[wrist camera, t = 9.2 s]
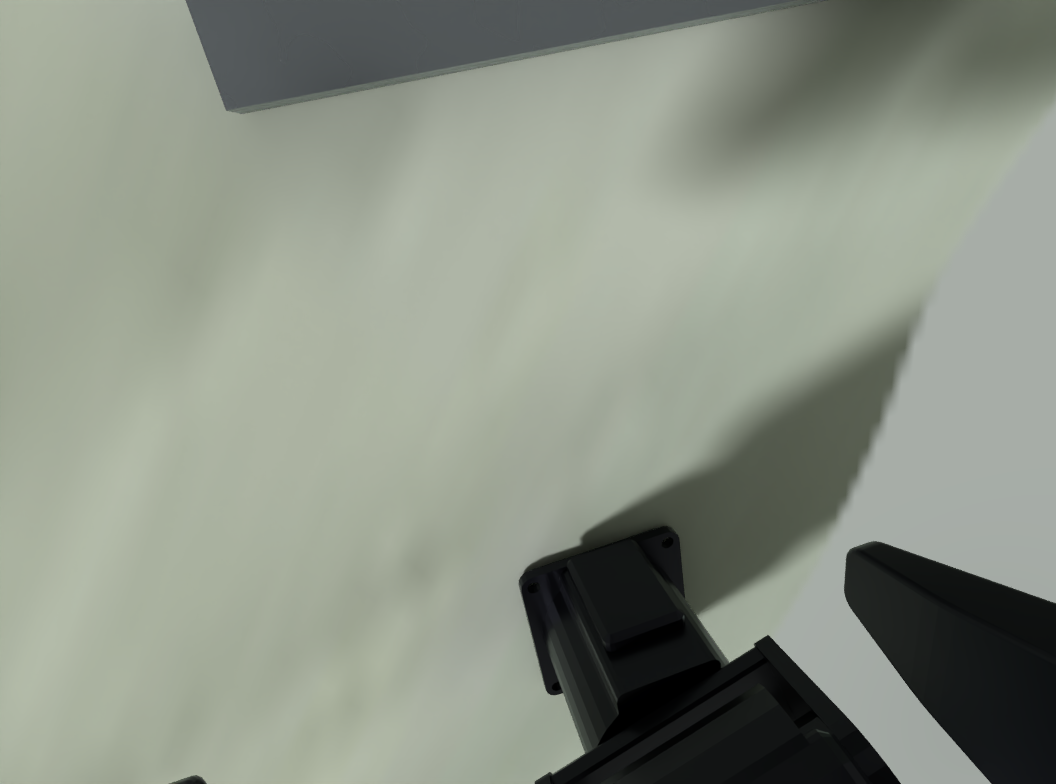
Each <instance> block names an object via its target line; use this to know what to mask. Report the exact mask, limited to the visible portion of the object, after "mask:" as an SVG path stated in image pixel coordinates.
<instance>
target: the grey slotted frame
mask: <svg viewBox="0 0 1056 784" xmlns="http://www.w3.org/2000/svg"><path fill="white" fill-rule="evenodd" d="M821 1H826V0H186V3H187V5H188V8H189V11H190V14H191V16H192V19H193V22H194V24H195V27H196V30H197V33H198V35H199V38H200V41H201V43H202V46H203V49H204V52H205V54H206V57H207V60H208V62H209V65H210V68H211V71H212V73H213V76H214V79H215V81H216V84H217V87H218V90H219V92H220V95H221V98H222V100H223V103H224V106H225V109H226V111H231V112H236V113H240V114H245V113H250V112H255V111H260V110H265V109H270V108H275V107H281V106H286V105H291V104H296V103H301V102H306V101H311V100H317V99H322V98H327V97H332V96H337V95H342V94H347V93H353V92H358V91H363V90H368V89H373V88H378V87H383V86H389V85H394V84H399V83H404V82H409V81H414V80H419V79H425V78H430V77H435V76H440V75H445V74H450V73H455V72H461V71H466V70H471V69H476V68H481V67H486V66H491V65H497V64H502V63H507V62H512V61H517V60H522V59H527V58H533V57H538V56H543V55H548V54H553V53H558V52H563V51H569V50H574V49H579V48H584V47H589V46H594V45H599V44H605V43H610V42H615V41H620V40H625V39H630V38H635V37H641V36H646V35H651V34H656V33H661V32H666V31H671V30H677V29H682V28H687V27H692V26H697V25H702V24H707V23H713V22H718V21H723V20H728V19H733V18H738V17H743V16H749V15H754V14H759V13H764V12H769V11H774V10H779V9H785V8H790V7H795V6H800V5H805V4H810V3H815V2H821Z"/></svg>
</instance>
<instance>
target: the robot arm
mask: <svg viewBox="0 0 1056 784" xmlns="http://www.w3.org/2000/svg"><path fill="white" fill-rule="evenodd" d="M665 538H668V539H667V540H666V541H664V542H662V541H663V540H664V539H665ZM535 582H537V583H536V584H535V585H533V586H529V585H530V584H531V583H535ZM519 588H520V592H521V596H522V600H523V603H524V607H525V611H526V615H527V619H528V623H529V627H530V631H531V635H532V639H533V643H534V647H535V651H536V655H537V659H538V662H539V666H540V670H541V674H542V678H543V682H544V685H545V688H546V691H547V692H548V693H549V694H550V695H558V694H561V693H563V694H564V696H565V699H566V702H567V705H568V707H569V710H570V713H571V716H572V718H573V721H574V724H575V726H576V729H577V732H578V735H579V737H580V740H581V743H582V746H583V748H584V751H585V754H584V755H582V756H581V757H579V758H577V759H576V760H574V761H573V762H571V763H569V764H568V765H566V766H565V767H563V768H561V769H560V770H558V771H557V772H555V773H554V774H552V773H551V772H549V773H548V774H546V775H544V776H543V777H541V778H540V779H538V780H536V781H535V784H901V783H900V782H899V781H898V779H897V778H896V776H895V775H894V774H893V772H892V771H891V770H890V768H889V767H888V766H887V764H886V763H885V762H884V761H883V759H882V758H881V757H880V756H879V754H878V753H877V752H876V751H875V749H874V748H873V747H872V745H871V744H870V743H869V742H868V741H867V739H866V738H865V737H864V736H863V735H862V733H861V732H860V731H859V730H858V729H857V728H856V727H855V725H854V724H853V723H852V722H851V721H850V720H849V719H848V718H847V717H846V716H845V714H844V713H843V712H842V711H841V710H840V709H839V708H838V707H837V706H836V705H835V704H834V703H833V702H832V701H831V700H830V699H829V698H828V697H827V696H826V695H825V694H824V693H823V692H822V690H820V688H819V687H818V686H817V685H816V684H815V683H814V682H813V681H812V680H811V679H810V678H809V677H808V676H807V675H806V674H805V673H804V672H803V671H802V670H801V669H800V668H799V667H798V666H797V664H796V663H795V662H794V661H793V660H792V659H791V658H790V657H789V656H788V655H787V654H786V653H785V652H784V651H783V650H782V649H781V648H780V647H779V646H778V645H777V644H776V643H775V641H774V640H773V639H772V638H771V637H770V636H769V635H767V636H766V637H764V638H762V639H761V640H759V641H758V642H756V643H754V646H755V647H754V648H752V649H751V650H749V651H748V652H746V653H744V654H743V655H741V656H740V657H738V658H736V659H735V660H733V661H732V662H730V663H729V661H728V660H727V658H726V657H725V656H724V654H723V653H722V651H721V650H720V648H719V647H718V646H717V644H716V643H715V641H714V640H713V638H712V637H711V636H710V634H709V633H708V631H707V630H706V629H705V627H704V626H703V624H702V623H701V621H700V620H699V619H698V617H697V616H696V614H695V613H694V611H693V610H692V609H691V607H690V606H689V604H688V603H687V602H686V600H685V595H684V584H683V574H682V563H681V553H680V542H679V537H678V535H677V534H676V532H675V531H674V530H673V529H672V528H671V527H668V526H663V527H660V528H657V529H654V530H651V531H648V532H645V533H642V534H639V535H636V536H633V537H630V538H627V539H624V540H621V541H618V542H615V543H612V544H609V545H606V546H603V547H600V548H597V549H594V550H591V551H588V552H585V553H582V554H578V555H575V556H572V557H569V558H566V559H563V560H560V561H557V562H554V563H551V564H548V565H545V566H542V567H539V568H536V569H533V570H530V571H528V572H526V573H524V574H523V575H522V576H521V577H520V580H519ZM844 593H845V597H846V600H847V602H848V604H849V606H850V608H851V609H852V611H853V612H854V613H855V615H856V616H857V617H858V619H859V620H860V622H861V623H862V624H863V626H864V627H865V628H866V630H867V631H868V632H869V634H870V635H871V636H872V638H873V639H874V640H875V642H876V643H877V645H878V646H879V647H880V649H881V650H882V651H883V653H884V654H885V655H886V657H887V658H888V660H889V661H890V662H891V664H892V665H893V666H894V668H895V669H896V670H897V672H898V673H899V674H900V676H901V677H902V679H903V680H904V681H905V683H906V684H907V685H908V687H909V688H910V689H911V691H912V692H913V693H914V694H915V696H916V697H917V698H918V700H919V701H920V702H921V703H922V705H923V706H924V707H925V708H926V709H927V711H928V712H929V713H930V714H931V715H932V717H933V718H934V719H935V720H936V721H937V722H938V723H939V725H940V726H941V727H942V728H943V729H944V730H945V731H946V732H947V734H948V735H949V736H950V737H951V738H952V739H953V741H955V743H956V744H957V745H958V746H959V747H960V748H961V750H962V751H963V752H964V753H965V754H966V755H967V756H968V757H969V759H970V760H971V761H972V762H973V763H974V764H975V765H976V767H977V768H978V769H979V770H980V771H981V772H982V773H983V774H984V776H985V777H986V778H987V779H988V780H989V781H990V783H991V784H1056V603H1053V602H1050V601H1047V600H1045V599H1042V598H1039V597H1036V596H1033V595H1030V594H1027V593H1024V592H1022V591H1019V590H1016V589H1013V588H1010V587H1008V586H1005V585H1002V584H999V583H996V582H993V581H990V580H988V579H985V578H982V577H979V576H976V575H973V574H970V573H967V572H965V571H962V570H959V569H956V568H953V567H950V566H948V565H945V564H942V563H939V562H936V561H933V560H930V559H927V558H924V557H922V556H919V555H916V554H913V553H910V552H908V551H904V550H902V549H899V548H896V547H893V546H890V545H888V544H885V543H881V542H876V541H873V542H869V543H866V544H863V545H860V546H857V547H854V548H852V549H850V550H849V552H848V553H847V557H846V571H845V584H844ZM170 784H206V782H205V781H204V779H203V778H202V777H199V776H197V775H195V776H190V777H187V778H184V779H181V780H179V781H176V782H173V783H170Z"/></svg>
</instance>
